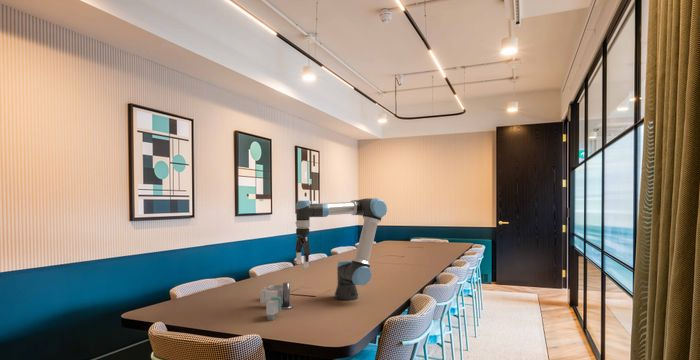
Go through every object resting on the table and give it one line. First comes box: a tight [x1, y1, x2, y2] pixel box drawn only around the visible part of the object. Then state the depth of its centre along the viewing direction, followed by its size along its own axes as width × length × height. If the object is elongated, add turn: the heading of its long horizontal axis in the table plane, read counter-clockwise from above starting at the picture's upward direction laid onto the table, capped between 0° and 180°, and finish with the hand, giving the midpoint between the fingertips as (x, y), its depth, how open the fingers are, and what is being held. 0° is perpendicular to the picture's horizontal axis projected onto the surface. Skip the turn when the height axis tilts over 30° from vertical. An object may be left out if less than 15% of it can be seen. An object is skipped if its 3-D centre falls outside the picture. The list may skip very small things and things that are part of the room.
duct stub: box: [265, 297, 282, 322], centre depth 213 cm, size 10×5×10 cm, turn 170°
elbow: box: [259, 288, 283, 306], centre depth 235 cm, size 12×5×9 cm, turn 81°
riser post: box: [281, 281, 294, 310], centre depth 234 cm, size 8×8×14 cm
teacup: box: [262, 284, 283, 291], centre depth 253 cm, size 14×11×8 cm
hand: (302, 265), depth 228 cm, fingers open, 13 cm apart
